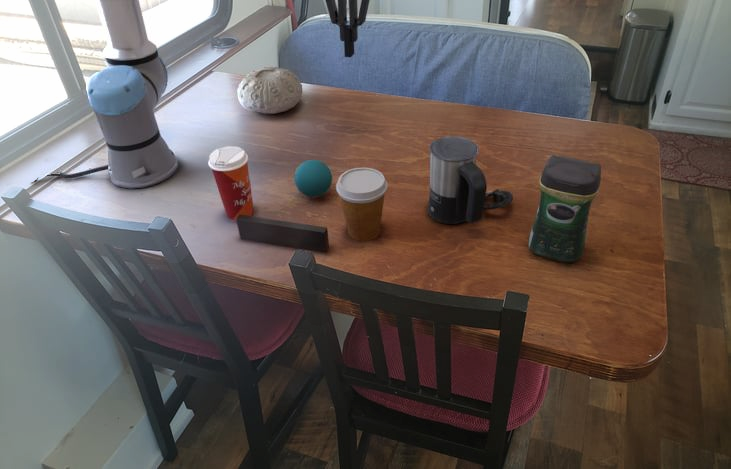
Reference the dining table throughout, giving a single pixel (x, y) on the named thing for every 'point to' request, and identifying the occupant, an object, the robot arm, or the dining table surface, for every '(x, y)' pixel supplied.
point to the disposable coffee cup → (362, 201)
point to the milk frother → (459, 183)
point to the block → (283, 233)
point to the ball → (313, 178)
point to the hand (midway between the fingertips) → (349, 55)
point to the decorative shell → (269, 90)
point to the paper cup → (232, 180)
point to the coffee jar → (564, 208)
